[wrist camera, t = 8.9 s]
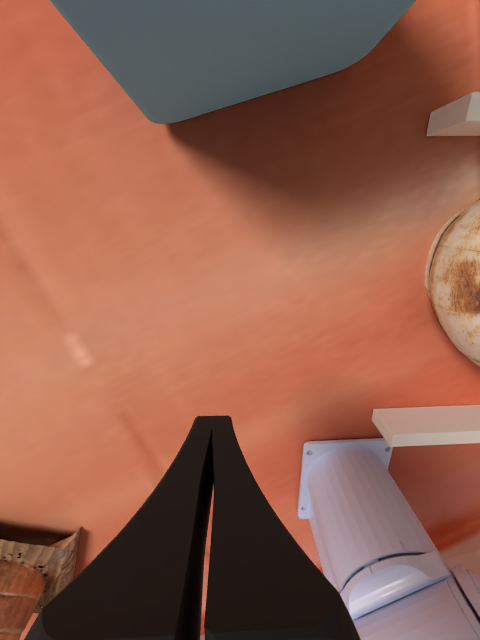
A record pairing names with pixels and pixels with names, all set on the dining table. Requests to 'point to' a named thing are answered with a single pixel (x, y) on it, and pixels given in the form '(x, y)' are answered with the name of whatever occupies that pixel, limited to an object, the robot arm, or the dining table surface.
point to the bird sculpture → (32, 580)
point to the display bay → (439, 421)
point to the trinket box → (457, 280)
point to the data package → (224, 46)
